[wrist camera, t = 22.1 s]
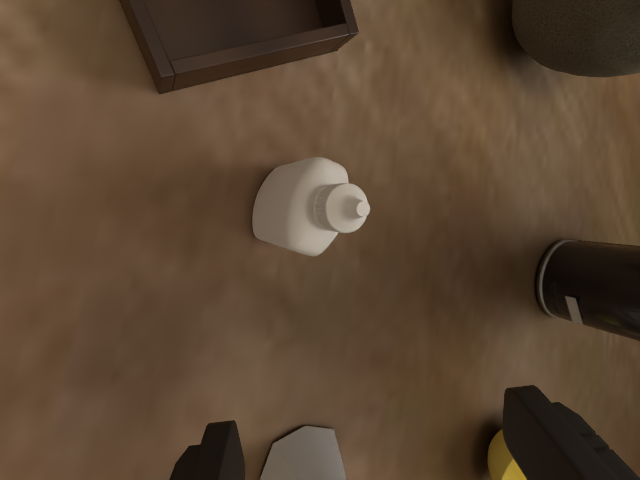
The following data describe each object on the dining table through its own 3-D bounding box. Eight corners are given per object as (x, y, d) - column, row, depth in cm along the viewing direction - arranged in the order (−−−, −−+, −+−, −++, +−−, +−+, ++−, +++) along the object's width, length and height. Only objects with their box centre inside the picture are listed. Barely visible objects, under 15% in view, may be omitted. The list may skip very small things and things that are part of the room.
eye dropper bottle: (319, 202, 28) (425, 204, 17) (268, 252, 27) (349, 287, 16) (284, 158, 26) (377, 129, 16) (228, 208, 25) (288, 214, 14)
